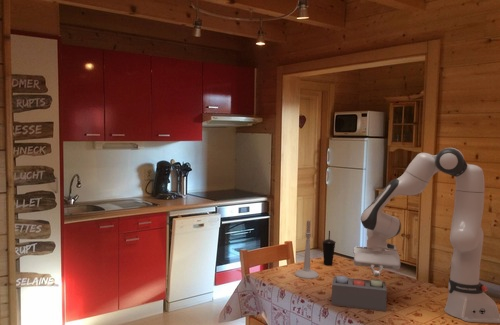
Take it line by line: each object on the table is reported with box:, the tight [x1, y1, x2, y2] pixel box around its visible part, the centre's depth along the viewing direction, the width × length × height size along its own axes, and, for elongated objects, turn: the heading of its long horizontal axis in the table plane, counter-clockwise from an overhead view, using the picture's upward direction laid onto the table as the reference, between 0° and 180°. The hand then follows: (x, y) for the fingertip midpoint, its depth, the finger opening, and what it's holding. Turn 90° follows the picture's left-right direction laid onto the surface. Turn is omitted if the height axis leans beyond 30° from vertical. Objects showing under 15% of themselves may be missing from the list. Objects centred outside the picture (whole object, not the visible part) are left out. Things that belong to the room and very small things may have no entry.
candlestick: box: [294, 219, 319, 280], centre depth 230 cm, size 13×13×30 cm
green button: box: [370, 278, 383, 288], centre depth 190 cm, size 5×5×4 cm
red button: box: [353, 279, 365, 286], centre depth 192 cm, size 5×5×4 cm
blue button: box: [336, 275, 348, 284], centre depth 194 cm, size 5×5×4 cm
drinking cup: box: [321, 230, 336, 267], centre depth 251 cm, size 8×8×20 cm
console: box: [330, 276, 388, 312], centre depth 192 cm, size 23×12×9 cm, turn 76°
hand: (376, 275), depth 190 cm, fingers closed
